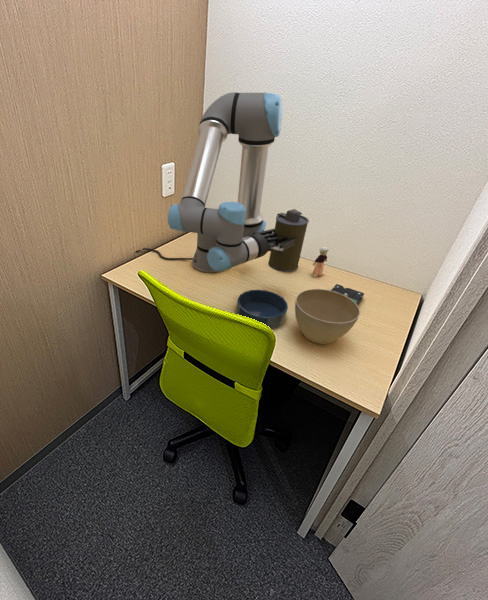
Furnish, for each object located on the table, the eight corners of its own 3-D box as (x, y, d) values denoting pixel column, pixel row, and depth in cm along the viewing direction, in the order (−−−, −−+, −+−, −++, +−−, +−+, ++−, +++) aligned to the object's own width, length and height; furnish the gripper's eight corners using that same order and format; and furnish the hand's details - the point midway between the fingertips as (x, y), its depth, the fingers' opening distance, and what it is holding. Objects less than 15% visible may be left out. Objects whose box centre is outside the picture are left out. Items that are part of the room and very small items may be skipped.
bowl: (229, 320, 114) (230, 308, 111) (244, 296, 126) (246, 285, 123) (278, 335, 107) (281, 323, 104) (289, 308, 119) (292, 297, 117)
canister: (304, 267, 119) (317, 212, 108) (283, 275, 115) (295, 218, 103) (281, 255, 127) (291, 203, 116) (261, 262, 122) (269, 208, 111)
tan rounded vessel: (357, 335, 107) (369, 304, 101) (332, 364, 97) (344, 331, 90) (305, 311, 118) (313, 282, 111) (277, 335, 107) (284, 304, 101)
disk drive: (333, 289, 130) (320, 306, 121) (335, 283, 129) (322, 299, 119) (362, 299, 125) (350, 317, 115) (364, 292, 123) (352, 310, 114)
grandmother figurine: (316, 279, 136) (324, 251, 129) (308, 276, 138) (315, 248, 131) (326, 273, 140) (334, 245, 133) (317, 270, 143) (325, 242, 135)
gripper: (233, 249, 113) (280, 233, 124) (267, 268, 103) (315, 249, 114) (235, 228, 109) (284, 214, 120) (271, 245, 98) (321, 228, 109)
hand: (299, 231), depth 117 cm, fingers closed on canister, 2 cm apart
